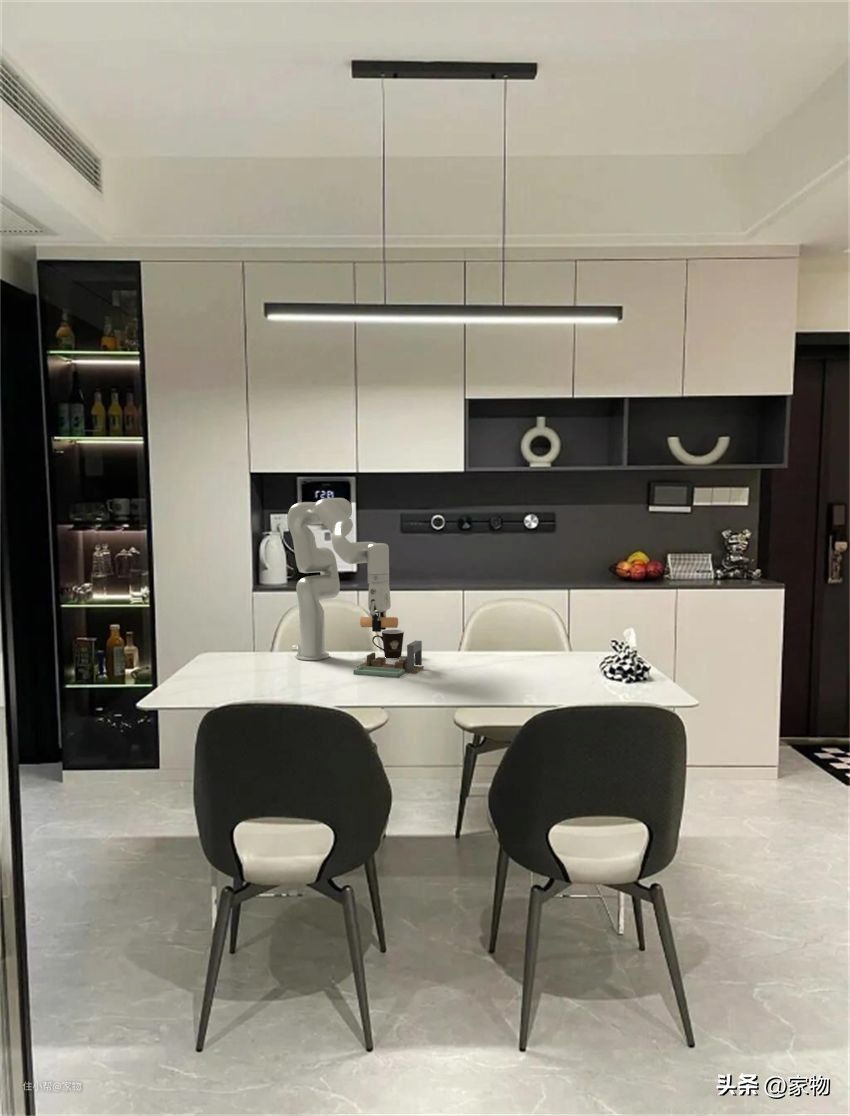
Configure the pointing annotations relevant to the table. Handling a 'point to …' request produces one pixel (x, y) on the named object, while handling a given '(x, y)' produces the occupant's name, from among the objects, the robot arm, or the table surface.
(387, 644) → the coffee mug
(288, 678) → the table surface
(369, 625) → the tan rounded-end block
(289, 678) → the table surface
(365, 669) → the felt tray
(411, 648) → the grey bracket
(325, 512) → the robot arm
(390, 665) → the block
